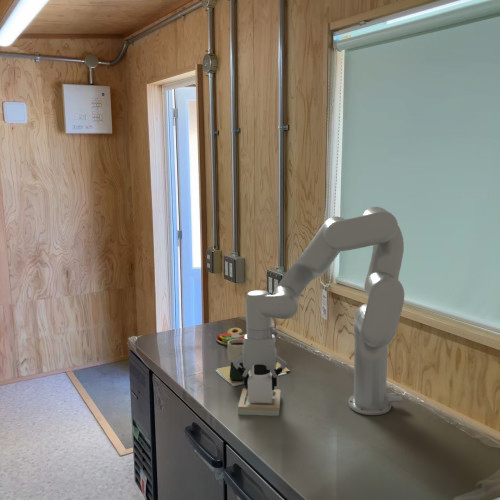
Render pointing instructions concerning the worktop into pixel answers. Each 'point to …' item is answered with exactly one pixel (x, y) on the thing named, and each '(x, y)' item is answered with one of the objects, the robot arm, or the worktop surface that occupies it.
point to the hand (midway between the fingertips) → (260, 387)
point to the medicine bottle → (260, 385)
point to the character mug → (235, 357)
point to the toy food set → (230, 335)
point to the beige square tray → (259, 405)
